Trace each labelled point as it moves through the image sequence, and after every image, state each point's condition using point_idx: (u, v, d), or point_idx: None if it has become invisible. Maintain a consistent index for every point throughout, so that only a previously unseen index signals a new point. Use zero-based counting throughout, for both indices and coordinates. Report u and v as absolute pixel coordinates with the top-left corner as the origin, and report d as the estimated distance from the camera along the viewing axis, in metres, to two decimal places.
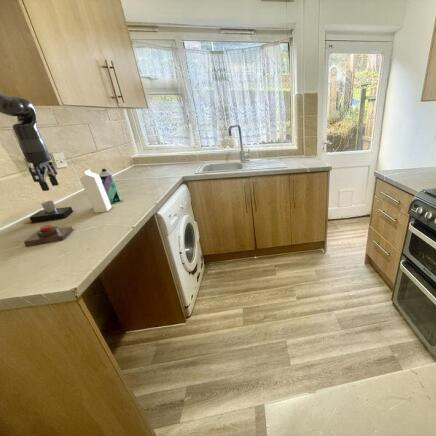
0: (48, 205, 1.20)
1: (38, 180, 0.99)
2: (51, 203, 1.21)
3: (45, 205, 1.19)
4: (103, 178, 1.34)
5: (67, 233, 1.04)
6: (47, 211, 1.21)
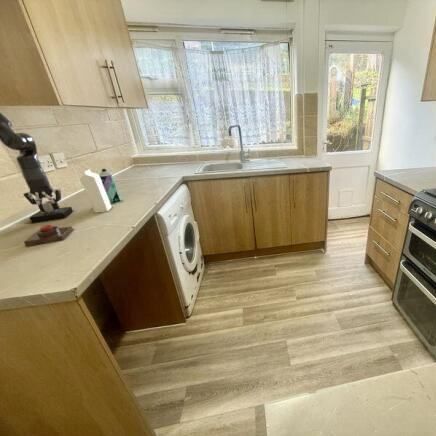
0: (48, 205, 1.20)
1: None
2: (51, 203, 1.21)
3: (45, 205, 1.19)
4: (103, 178, 1.34)
5: (67, 233, 1.04)
6: (47, 211, 1.21)
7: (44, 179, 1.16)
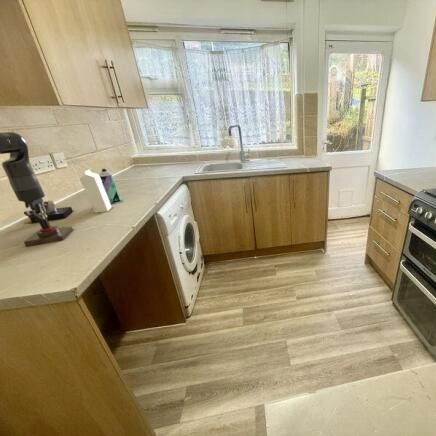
0: (53, 203, 1.23)
1: (38, 219, 0.96)
2: None
3: (53, 203, 1.22)
4: (103, 178, 1.34)
5: (67, 233, 1.04)
6: (55, 209, 1.23)
7: None
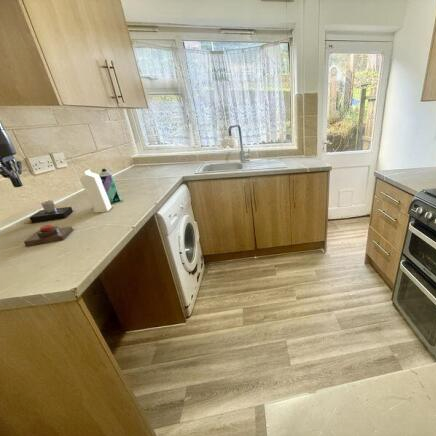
0: (53, 203, 1.23)
1: (9, 176, 0.95)
2: None
3: (53, 203, 1.22)
4: (103, 178, 1.34)
5: (67, 233, 1.04)
6: (55, 209, 1.23)
7: None
